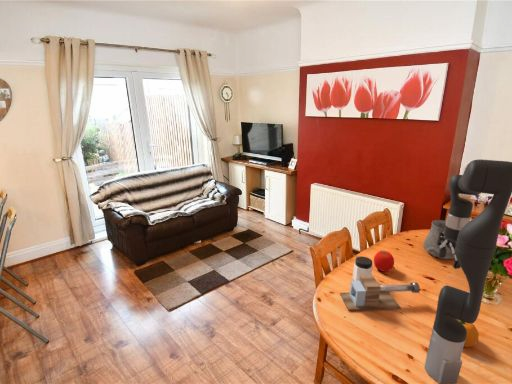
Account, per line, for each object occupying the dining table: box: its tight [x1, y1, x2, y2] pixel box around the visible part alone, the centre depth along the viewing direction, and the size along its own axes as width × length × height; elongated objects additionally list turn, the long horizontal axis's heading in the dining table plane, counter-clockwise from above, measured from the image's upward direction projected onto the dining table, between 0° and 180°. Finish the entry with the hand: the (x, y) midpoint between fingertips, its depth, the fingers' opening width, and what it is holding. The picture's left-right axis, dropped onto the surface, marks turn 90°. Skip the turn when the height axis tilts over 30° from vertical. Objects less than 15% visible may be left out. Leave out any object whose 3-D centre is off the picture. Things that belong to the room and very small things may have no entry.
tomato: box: [373, 250, 395, 272], centre depth 164 cm, size 10×11×11 cm
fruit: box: [457, 319, 480, 348], centre depth 116 cm, size 12×12×10 cm
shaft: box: [379, 282, 421, 294], centre depth 138 cm, size 24×5×5 cm, turn 93°
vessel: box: [423, 219, 455, 260], centre depth 178 cm, size 22×22×20 cm
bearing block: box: [339, 275, 402, 312], centre depth 138 cm, size 12×24×12 cm, turn 93°
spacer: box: [349, 280, 366, 306], centre depth 137 cm, size 8×4×8 cm, turn 3°
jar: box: [352, 255, 373, 281], centre depth 154 cm, size 9×8×12 cm
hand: (448, 262), depth 119 cm, fingers open, 8 cm apart
